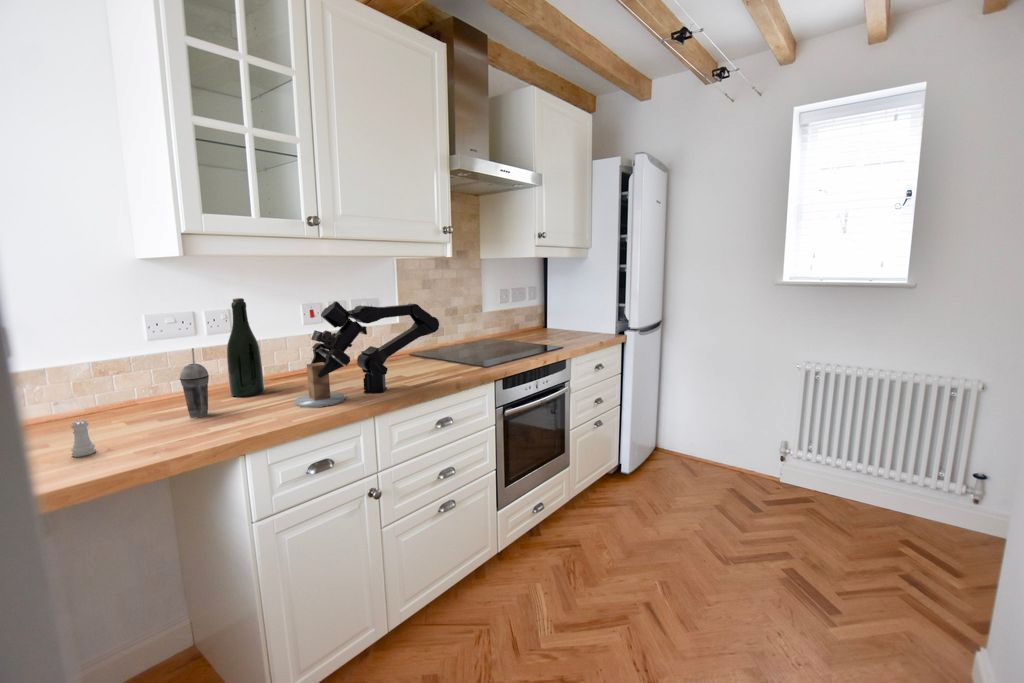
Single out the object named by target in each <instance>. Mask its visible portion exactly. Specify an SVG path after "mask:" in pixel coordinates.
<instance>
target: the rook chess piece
mask: <svg viewBox="0 0 1024 683" xmlns="http://www.w3.org/2000/svg"><path fill="white" fill-rule="evenodd" d="M89 425H90V423H89V422H87V420H86V419H81V421H80V420H79V419H78V420H76V421H75V420H74V421H72V422H71V426H70V428H72V430H73V431H72V433H73V436H74V438H73V439H74V441H73V444H72V448H71V449H70V450H71V451H70V452H72V453H71V454H70V455H71V456H72V457H73V458H82V457H86V456H91V455H92V454H94V453H95V452H96V451H97V448H96V445H95V443H93V442H92V441H91V439H90V436H89V429H88V426H89Z"/></svg>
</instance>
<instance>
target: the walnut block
mask: <svg viewBox="0 0 1024 683" xmlns="http://www.w3.org/2000/svg"><path fill="white" fill-rule="evenodd" d="M324 364H325V363H323V362H320V363H312V364H311V363H306V373H307V385H308V386H307V387H308V394H309V398H311V399H313V400H314V401H316V400H321V399H327V398H331V396H330V392H331V386H330V373H329V374H327V375H325V376H323V377H321V378H320V377H318V374H319V372H320V370H321V369H322V367H323V366H324Z"/></svg>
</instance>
